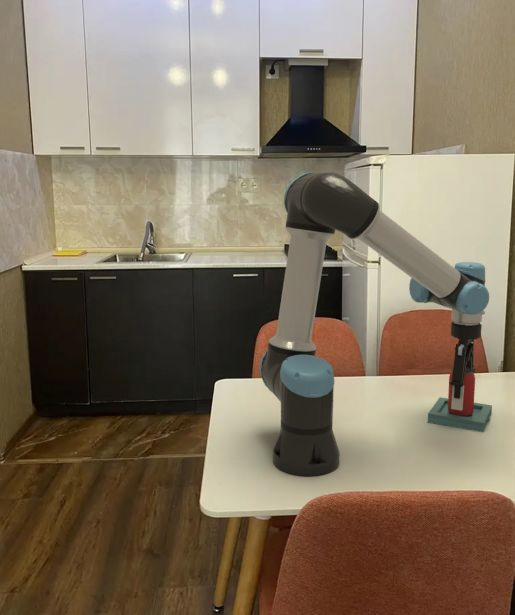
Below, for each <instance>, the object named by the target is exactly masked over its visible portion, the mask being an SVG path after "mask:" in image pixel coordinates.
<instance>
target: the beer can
mask: <svg viewBox="0 0 515 615" xmlns="http://www.w3.org/2000/svg"><path fill="white" fill-rule="evenodd" d="M473 372H474V371H473V370H472V369H471V368H467V367H466V370H465V376H464V383H463V384H464V385H463V386H464V396H463V410H462V411H461V410H455V409H451V404H452V389H453V385H450V382H452V374H453V367H452V368H451V371H450V373H449V377H448V394H447V395H448V411H449V412H450V413H451V414H453V415H457V416H469V415H471V414H473V412H474V403H475V393H476V392H475V388H476V377H475V373H473ZM456 381H458V380H456Z"/></svg>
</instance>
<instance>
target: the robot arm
mask: <svg viewBox="0 0 515 615" xmlns="http://www.w3.org/2000/svg"><path fill="white" fill-rule="evenodd" d="M283 196H284V197H283V206H284V209H285V211H286V213H287V215H286V221H285V226H284V227H285V229H286V231H287V233H288V234H289V237H290V239H289V245H288V252H287V258H286V259H287V260H286V265H285V271H284V278H283V285H282V292H281V299H280V300H281V301H280V305H279V306H280V307H279V312H278V319H277V327H276V333H275V335H273V336H272V337H270V338H269V339H268V344H267V350H266V351H265V352H264V353H263V354H262V356H261V359H260V362H259V373H260V377H261V379H262V381H263V384H264V385H265V387H266V388H267V389H268V390H269V391H270V392H271V393H272V394H273V395H274V396H275V397H276V399H277V400H278V401H279V403H280V429H279V432H278V435H277V437H276V441H275V444H274V446H273V449H272V462H273V465H274V466H275V467H276V468H277V469H279V470H281V471H282V472H285V473H288V474H291V475H296V476H302V477H303V476H304V477H306V476H307V477H311V476H312V477H313V476H321V475H325V474H326V475H327V474H328V473H331V472H333V471H335V470H336V469H337V468H338V467H339V465H340V459H341V458H340V456H341V455H340V454H341V453H340V450H339V446H338V443H337V440H336V436H335V433H334V430H333V429H334V428H333V424H334V423H333V422H334V421H333V420H334V419H333V418H334V391H335V390H334V388H335V376H334V369H333V366H332V365H331V363H330V362H329V361H328V360H327V359H324V358H322V357H319V356H317V357H316V351H317V346H316V345H315V343H314V342H313V340H312V336H313V330H314V325H315V324H314V323H315V317H316V312H317V304H318V299H319V292H320V286H321V278H322V272H323V267H324V260H325V254H326V247H327V242H328V240H330V239H331V238H332V237H334V236H335V233H336V231H338V232H340V233H341V234H343V235H345V237H347V238H349V239H350V240H357V239H358V240H359V241H361V242H362V243H364V244H365V245H366V246H368V247H369V248H371V250H373V251H374V252H376V253H377V254H378V255H380V256H381V257H383V258H384V259H385V260H387V261H388V262H390V263H391V264H392V265H393V266H395V267H396V268H398V269H399V270H400V271H402V272H403V273H405V275H407V276H409V277H410V281H409V284H408V285H409V290H408V291H409V294H410V297H411V299H412V300H413V301H414V302H415V303H417V304H418V303H419V304H421V303H423V304H428V303H432V304H433V303H434V304H437V305H439V306H442V307H445V308H448V309H450V310H451V317H450V319H451V320H452V321H451V324H450V336H452V337H453V338H455V339H458V342H457V343H456V344H455V347H454V359H453V367H452V368H453V374H452V382H450V385H453V389H452V404H451V409H455V410H461V411H462V410H463V396H464V386H463V385H464V384H463V383H464V376H465V370H466V367H467V368H471V369H472V370H473V371H474V372H473V373H474V374H475V373H476V369H475V368H474V367H475V365H474V364H475V363H474V356H475V355H474V350H475V348H474V347H475V340H478V339H480V338H481V336H482V327H483V325H482V324H481V322H482V321H483V315H485V314H486V311H485V309H486V308H487V306H488V305H489V302H490V293H489V290H488V289H487V287H486V267H485V265H484V264H483V263H480V262H473V261H462V262H457V263H455V264H454V267H453V265H451V264H450V263H448V262H447V261H446V260H444V259H443V258H442V257H441V256H439V255H438V254H437V253H435V251H433V250H432V249H431V248H429V247H428V246H427V245H425V244H424V243H423V242H422V241H420V240H419V239H418V238H416V237H415V236H413V235H412V234H411V233H410V232H409V231H407V230H406V228H403V227H402V226H401V225H399V224H398V223H397V222H396V221H394V220H393V219H392V218H391V217H389V216H388V215H387V214H385V213H384V212H382V211H381V210H380V207H381V205H380V203H379V202H378V201H376V200H375V198H372V197H371V196H370V195H369V194H368V193H366V192H365V190H363V189H361V188H360V187H359V186H358V185H357V184H355V182H352V181H351V180H350V179H349V178H347V177H345V176H344V175H342V174H339V173H337V172H334V171H333V172H330V171H329V172H328V171H325V172H313V171H312V172H307V173H304V174H301V175H299V176H296V177H295V178H294V179H293V180H292V181H291V182H290V183H289V184H288V186H287V187H286V189H285V192H284V195H283ZM456 380H458V381H456Z"/></svg>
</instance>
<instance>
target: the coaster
mask: <svg viewBox="0 0 515 615" xmlns="http://www.w3.org/2000/svg"><path fill="white" fill-rule="evenodd" d="M492 409H493V405H491V404H486V403H485V404H484V403H478V402H474V412H473V414H471V415H469V416H457V415H453V414H451V413H450V412H449V411H448V398H447V397H441V396H439V398H437V399H436V402H435V403H434V404H433V406H432V407H431V408H430V410H429V412H428V413H427V423H430V424H434V425H441V426H447V427H453V428H457V429H463V430H469V431H473V432H474V431H475V432H480V433H484V432H485V430H486V427H487V425H488V423H489V420H490V418H491V416H492Z"/></svg>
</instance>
